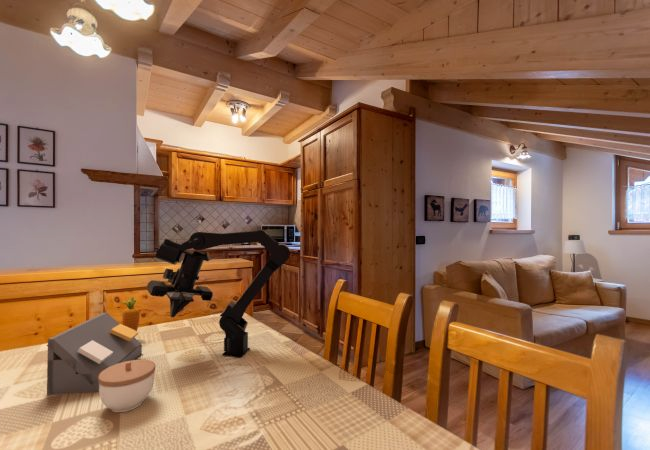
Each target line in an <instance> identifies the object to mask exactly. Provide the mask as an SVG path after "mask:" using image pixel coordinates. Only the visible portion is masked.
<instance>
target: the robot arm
mask: <svg viewBox="0 0 650 450" xmlns="http://www.w3.org/2000/svg"><path fill="white" fill-rule="evenodd" d="M249 243H250V244H251V243H259V245H261V246H263V248H265V249H266V250H267V251H268V252H269V253H270V254H269V257H267V260H266V262H265V264H264V266H263V267H262V268H261V270H260V271H259V272H258V273H257V275H256V276H255V278H254V279H253V280H252V282H251V283H250V284H249V285H248V287H247V288H246V289H245V291H244V292H243V293H242V295H241V296H240V298H238V299H237V300H236V301H233V299H232V300H230V301H229V303H228V305H227V306H226V308H225V309H223V311H222V312H221V314H220V315H219V317H220V319H219V321H218V324H219V328H220V329H221V330H222V331H223V332H224V334H225V337H224V339H223V353H221V354H222V356H223V357H231V358H232V357H233V358H243V356H245V355H246V354H247V353H248V352H249V351H250V350H251V348H250V347H249V332H247V331H246V329H247V326H248V321H247V320H246V319H245V318H244V317H243V316H244V314H245V312H246V310H247V309H248V308H249V306H250V304H251V303H252V301H254V299H255V297H256V296H257V295H258V293H259V292H260V291H261V290H262V289H263V287H265V285H266V283H268V281H269V279H270V278H271V277H272V275H273V274H274V273H275V272H276V271H277V270H278V269H280V268H281V267H282V266H283V265H284V264H285V263H286V262H287V261H288V260H289V259H290V257H291V250H290V248H289V246H288V245H287V244H286V243H280V242H278V241H277V239H275V238H274V237H272V236H271V235H270V234H269V233H267V231H266V230H265V229H257V230H250V231H239V232H238V231H236V232H225V233H223V232H222V233H221V232H213V231H196V232H193V233H192V234H191V235H190V236H189V239H188V240H186V241H184V242H182V243H180V242H178V241H174V240H173V239H171V238H165V239H164V241H163V242H162V243H161V245H160V246H159V247H158V248H157V250H156V253H155V258H156V259H157V260H159V261H162V262H166V263H169V264H171V265H174V266H175V265H177V264H178V263H181V265H180V268H177V270H176V271H175V272H174V269H172V268H165V270H164V272H163V276H162V278H163V279H164V280H167V283H170V284H171V285H172V286H171V285H167V284H166V283H165V281H161V280H151V281H150V280H149V282H148V283H147V285H146V287H145V289H146V290H147V292H148V294H149V295H150V296H153V297H161V298H163V297H165V296H167V298H168V300H169V304H170V306H169V307H170V312H169V315H170V317H171V318H175V317H176V316H177V315H178V314H179V313H180V312H181V311H182V310H183V309H184V308H185V307H186V306H187V305H189V304H190V303H194V301H195V299H194V297H195V296H198V297H199V296H200V298H201V300H202V301H204V302H205V301H208V302H211V301H212V299H213V297H214V292H213V291H212V290H211V289H210V288H209V287H208V286H202V285H197V286H196V287H195V285H196V282H197V281H199V279H200V276H199V273H200V271H201V270H202V266H203V264H204V262H209V261H211V260H212V257H211V255H210V252H208V251H206V252H205V253H204V252H201V251H203V250H209V249H211V248H215V247H218V246H219V247H220V246H225V245H234V244H235V245H238V244H249ZM190 250H194V251H190ZM194 287H195V288H194Z"/></svg>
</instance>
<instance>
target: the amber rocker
mask: <svg viewBox="0 0 650 450" xmlns="http://www.w3.org/2000/svg"><path fill="white" fill-rule="evenodd" d="M110 333H112V334H114V335H116V336H119V337H121V338H123V339H125V340H127V341H130V340H132V339H133V338H134V337H135V338H136V337H138V335H139V333H140V332H139V331H138V330H137V331H135V330H133V329H131V328H129V327H127V326H124V325H123V323H119V325H118V326H116V327H114V328H113V329H111V331H110Z"/></svg>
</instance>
